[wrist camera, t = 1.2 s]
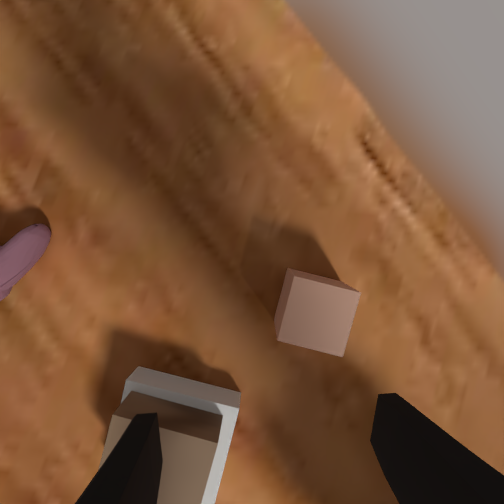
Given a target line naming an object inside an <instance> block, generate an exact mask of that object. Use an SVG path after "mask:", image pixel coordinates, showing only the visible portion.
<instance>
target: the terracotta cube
mask: <svg viewBox="0 0 504 504" xmlns="http://www.w3.org/2000/svg"><path fill="white" fill-rule="evenodd" d="M360 294H361V292H359V291H357V290H355V289H354V288H352V287H350V286H348V285H347V284H345V283H343V282H342V281H338V280H334V279H330V278H326V277H322V276H318V275H314V274H310V273H306V272H302V271H298V270H294V269H290V268H287V271H286V275H285V279H284V283H283V287H282V290H281V294H280V298H279V302H278V306H277V310H276V313H275V317H274V324H275V330H276V336H277V341H281V342H284V343H288V344H292V345H296V346H300V347H304V348H308V349H312V350H316V351H320V352H324V353H328V354H332V355H336V356H340V357H343V355H344V351H345V348H346V344H347V340H348V337H349V333H350V330H351V326H352V323H353V319H354V316H355V312H356V309H357V305H358V301H359V298H360Z"/></svg>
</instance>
